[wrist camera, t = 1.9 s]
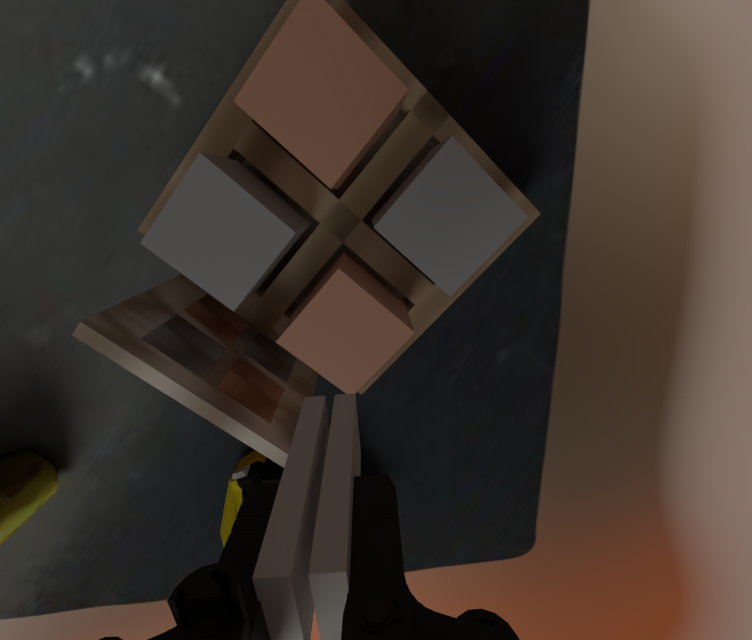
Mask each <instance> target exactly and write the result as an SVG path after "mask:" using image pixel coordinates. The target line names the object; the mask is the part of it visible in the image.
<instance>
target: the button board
mask: <svg viewBox="0 0 752 640" xmlns="http://www.w3.org/2000/svg"><path fill="white" fill-rule="evenodd" d="M325 1H326V2H327V3H328V4H329V5H330V6H331V7H332V8H333V9H334V11H335V12H336V13H337V14H338V15H339V16H340V17H341V18H342V19H343V20H344V21H345V22H346V23H347V24H348V25H349V27H350V28H351V29H352V30H353V31H354V32H355V33H356V34H357V35H358V36H359V37H360V38H361V39H362V40H363V41H364V43H365V44H366V45H367V46H368V47H369V48H370V49H371V50H372V51H373V52H374V53H375V54H376V55H377V56H378V57H379V59H380V60H381V61H382V62H383V63H384V64H385V65H386V66H387V67H388V68H389V69H390V70H391V71H392V72H393V73H394V75H395V76H396V77H397V78H398V79H399V80H400V81H401V82H402V83H403V84H404V85H405V86H406V87H407V88H408V89H409V90H408V92H407V95H406V97H405V99H404V102H403V104H402V106H401V108H400V111H399V113H398V115H397V116H396V117H395V118H394V120H393V121H392V122H391V123H390V125H389V126H388V127H387V128H386V130H385V131H384V132H383V133H382V135H381V136H380V137H379V138H378V140H377V141H376V142H375V144H374V145H373V146H372V147H371V149H370V150H369V151H368V152H367V154H366V155H365V156H364V157H363V159H362V160H361V161H360V162H359V164H358V165H357V166H356V167H355V169H354V170H353V171H352V172H351V174H350V175H349V176H348V177H347V179H346V180H345V181H344V182H343V184H342V185H341V186H340V188H339V189H330V188H329V187H328V186H327V185H326V184H325V183H323V182H322V181H321V180H320V179H319V178H318V177H317V176H316V175H315V174H313V173H312V172H311V171H310V170H309V169H308V168H307V167H306V166H305V165H304V164H302V163H301V162H300V161H299V160H298V159H297V158H296V157H295V156H294V155H292V154H291V153H290V152H289V151H288V150H287V149H286V148H285V147H284V146H282V145H281V144H280V143H279V142H278V141H277V140H276V139H275V138H274V137H273V136H271V135H270V134H269V133H268V132H267V131H266V130H265V129H264V128H263V127H261V126H260V125H259V124H258V123H257V122H256V121H255V120H254V119H253V118H251V117H250V116H249V115H248V114H247V113H246V112H245V111H244V110H243V109H241V108H240V107H239V106H238V105H237V104H236V103H235V102H234V99H235V98H236V96H237V95H238V93H239V92H240V90H241V89H242V87H243V86H244V84H245V83H246V81H247V80H248V78H249V77H250V75H251V73H252V72H253V70H254V69H255V67H256V66H257V64H258V63H259V61H260V60H261V58H262V57H263V55H264V54H265V52H266V51H267V49H268V48H269V46H270V45H271V43H272V41H273V40H274V38H275V37H276V35H277V34H278V32H279V31H280V29H281V28H282V26H283V25H284V23H285V22H286V20H287V19H288V17H289V16H290V14H291V13H292V11H293V9H294V8H295V6H296V5H297V3H298V2H299V0H286V2H285V3H284V5H283V6H282V8H281V9H280V11H279V13H278V14H277V16H276V17H275V19H274V20H273V22H272V23H271V25H270V26H269V28H268V30H267V31H266V33H265V34H264V36H263V37H262V39H261V40H260V42H259V43H258V45H257V47H256V48H255V50H254V51H253V53H252V54H251V56H250V57H249V59H248V60H247V62H246V64H245V65H244V67H243V68H242V70H241V71H240V73H239V74H238V76H237V77H236V79H235V81H234V82H233V84H232V85H231V87H230V88H229V90H228V91H227V93H226V94H225V96H224V98H223V99H222V101H221V102H220V104H219V105H218V107H217V108H216V110H215V111H214V113H213V115H212V116H211V118H210V119H209V121H208V122H207V124H206V125H205V127H204V128H203V130H202V132H201V133H200V135H199V136H198V138H197V139H196V141H195V142H194V144H193V145H192V147H191V149H190V150H189V152H188V153H187V155H186V156H185V158H184V159H183V161H182V162H181V164H180V166H179V167H178V169H177V170H176V172H175V173H174V175H173V176H172V178H171V179H170V181H169V183H168V184H167V186H166V187H165V189H164V190H163V192H162V193H161V195H160V197H159V198H158V200H157V201H156V203H155V204H154V206H153V207H152V209H151V210H150V212H149V214H148V215H147V217H146V218H145V220H144V221H143V223H142V224H141V226H140V227H139V229H138V230H139V231H140V232H142V233H143V234H144V235H146V233H147V232H148V230H149V229H150V227H151V226H152V224H153V223H154V221H155V220H156V218H157V217H158V215H159V214H160V212H161V211H162V209H163V208H164V206H165V204H166V203H167V201H168V200H169V198H170V197H171V195H172V194H173V192H174V191H175V189H176V188H177V186H178V185H179V183H180V182H181V180H182V179H183V177H184V176H185V174H186V172H187V171H188V169H189V168H190V166H191V165H192V163H193V162H194V160H195V159H196V157H197V156H198V154H199V153H205V154H210V155H214V156H219V157H223V158H228V159H233V160H237V161H240V162H241V163H242V164H243V165H245V166H246V167H247V168H248V169H249V170H250V171H252V172H253V173H254V174H255V175H256V176H257V177H259V178H260V179H261V180H262V181H263V182H264V183H266V184H267V185H268V186H269V187H270V188H271V189H273V190H274V191H275V192H276V193H277V194H278V195H280V196H281V197H282V198H283V199H284V200H285V201H287V202H288V203H289V204H290V205H291V206H292V207H294V208H295V209H296V210H297V211H298V212H299V213H301V214H302V215H303V216H304V217H305V218H306V219H308V220H309V221H310V222H311V224H310V225H309V226H308V228H307V229H306V230H305V231H304V233H303V234H302V235H301V237H300V238H299V239H298V240H297V242H296V243H295V244H294V245H293V247H292V248H291V249H290V250H289V252H288V253H287V254H286V255H285V257H284V258H283V259H282V260H281V262H280V263H279V264H278V265H277V267H276V268H275V269H274V270H273V272H272V273H271V274H270V275H269V277H268V278H267V279H266V281H265V282H264V283H263V284H262V285H261V286H260V287H259V288H258V289H257V290H256V291H255V292H254V293H253V294H252V295H251V296H250V297H249V298H248V299H247V300H245V301H244V302H243V303H242V304H241V305H240V306H239V307H238V308H237V309H236V310H235V311H232V310H231V309H230V308H228V307H227V306H225V305H224V304H223V303H221V302H220V301H219V300H217V299H216V298H214V297H213V296H212V295H210V294H209V293H208V292H206V291H205V290H203V289H202V288H201V287H199V286H198V285H197V284H195V283H194V282H193V281H191V280H190V279H188V278H187V277H186V276H184V275H183V274H181V275H179V276H177V277H175V278H173V279H170V280H168V281H166V282H164V283H162V284H160V285H158V286H156V287H153V288H151V289H149V290H147V291H145V292H143V293H141V294H138V295H136V296H134V297H132V298H130V299H128V300H126V301H124V302H121V303H119V304H117V305H115V306H113V307H111V308H109V309H106V310H104V311H102V312H100V313H98V314H96V315H94V316H92V317H89V318H87V319H85V320H83V321H81V322H80V323H79V325H78V326H77V328H76V329H75V331H74V332H73V334H72V336H74V337H76V338H77V339H79V340H80V341H82V342H84V343H85V344H87V345H88V346H90V347H92V348H93V349H95V350H96V351H98V352H100V353H101V354H103V355H104V356H106V357H108V358H109V359H111V360H112V361H114V362H116V363H117V364H119V365H120V366H122V367H124V368H125V369H127V370H128V371H130V372H132V373H133V374H135V375H136V376H138V377H140V378H141V379H143V380H144V381H146V382H147V383H149V384H151V385H152V386H154V387H155V388H157V389H159V390H160V391H162V392H163V393H165V394H167V395H168V396H170V397H171V398H173V399H175V400H176V401H178V402H179V403H181V404H183V405H184V406H186V407H187V408H189V409H191V410H192V411H194V412H195V413H197V414H199V415H200V416H202V417H203V418H205V419H207V420H208V421H210V422H211V423H213V424H215V425H216V426H218V427H219V428H221V429H223V430H224V431H226V432H227V433H229V434H231V435H232V436H234V437H235V438H237V439H239V440H240V441H242V442H243V443H245V444H247V445H248V446H250V447H251V448H253V449H255V450H256V451H258V452H259V453H261V454H263V455H264V456H266V457H267V458H269V459H271V460H272V461H274V462H275V463H277V464H279V465H280V466H282V467H283V468H284V467H285V464H286V460H287V457H288V453H289V450H290V447H291V443H292V440H293V436H294V433H295V429H296V426H297V422H298V419H299V415H300V412H301V409H302V405H303V402H304V398H305V397H313V395H314V391H315V387H316V383H317V379H318V375H319V373H317V372H316V371H315V370H313V369H312V368H311V367H309V366H308V365H306V364H305V363H304V362H302V361H301V360H300V359H298V358H297V357H295V356H294V355H293V354H291V353H290V352H289V351H287V350H286V349H284V348H283V347H282V346H280V345H279V344H278V343H276V341H277V339H278V337H279V336H280V334H281V332H282V330H283V329H284V327H285V325H286V324H287V322H288V320H289V318H290V317H291V315H292V313H293V311H294V310H295V309H296V308H297V306H298V305H299V304H300V303H301V302H302V300H303V299H304V298H305V297H306V296H307V295H308V293H309V292H310V291H311V290H312V289H313V287H314V286H315V285H316V284H317V283H318V282H319V280H320V279H321V278H322V277H323V276H324V274H325V273H326V272H327V271H328V270H329V269H330V267H331V266H332V265H333V264H334V263H335V261H336V260H337V259H338V258H339V257H340V256H341V254H342V253H343V252H344V251H345V252H346V253H347V254H348V255H350V256H351V257H352V258H353V259H354V260H355V261H357V262H358V263H359V264H360V265H361V266H362V267H364V268H365V269H366V270H367V271H368V272H369V273H371V274H372V275H373V276H374V277H375V278H376V279H378V280H379V281H380V282H381V283H382V284H383V285H385V286H386V287H387V288H388V289H389V290H390V291H392V292H393V293H394V294H395V295H396V296H397V297H399V298H400V299H401V300H402V301H403V302H404V303H405V305H406V308H407V311H408V314H409V317H410V320H411V322H412V325H413V328H414V331H415V333H414V334H413V335H412V336H411V337H410V338H409V339H408V340H407V341H406V342H405V343H404V344H403V345H402V346H401V347H400V348H399V349H398V350H397V351H396V352H395V353H394V354H393V355H392V357H391V358H390V359H389V360H388V361H387V362H386V363H385V364H384V365H383V366H382V367H381V368H380V369H379V370H378V371H377V372H376V373H375V374H374V375H373V376H372V377H371V378H370V379H369V380H368V381H367V382H366V383H365V384H364V385H363V386H362V387H361V388H360V389H359V390H358V391H357V392H358V393H360V394H361V395H362V394H363V393H364V392H365V391H366V390H367V389H368V388H369V387H370V386H371V385H372V384H373V383H374V382H375V381H376V380H377V378H378V377H379V376H380V375H381V374H382V373H383V372H384V371H385V370H386V369H387V368H388V367H389V366H390V365H391V364H392V363H393V362H394V361H395V360H396V359H397V358H398V357H399V356H400V355H401V354H402V353H403V352H404V351H405V350H406V349H407V348H408V347H409V346H410V345H411V344H412V343H413V342H414V341H415V340H416V339H417V338H418V337H419V336H420V335H421V334H422V333H423V332H424V331H425V330H426V329H427V328H428V327H429V326H430V325H431V324H432V323H433V322H434V321H435V320H436V319H437V318H438V317H439V316H440V315H441V314H442V313H443V312H444V311H445V310H446V309H447V308H448V307H449V306H450V305H451V304H452V303H453V302H454V301H455V300H456V299H457V298H458V297H459V296H460V295H461V294H462V293H463V292H464V291H465V290H466V289H467V288H468V287H469V286H470V285H471V284H472V283H473V282H474V280H475V279H476V278H477V277H478V276H479V275H480V274H481V273H482V272H483V271H484V270H485V269H486V268H487V267H488V266H489V265H490V264H491V263H492V262H493V261H494V260H495V259H496V258H497V257H498V256H499V255H500V254H501V253H502V252H503V251H504V250H505V249H506V248H507V247H508V246H509V245H510V244H511V243H512V242H513V241H514V240H515V239H516V238H517V237H518V236H519V235H520V234H521V233H522V232H523V231H524V230H525V229H526V228H527V227H528V226H529V225H530V224H531V223H532V222H533V221H534V220H535V219H536V218H537V217H538V216H539V215H540V214H541V213H540V212H539V211H538V210H537V209H536V208H535V207H534V206H533V205H532V204H531V202H530V201H529V200H528V199H527V198H526V197H525V196H524V195H523V194H522V193H521V192H520V191H519V189H518V188H517V187H516V186H515V185H514V184H513V183H512V182H511V181H510V180H509V179H508V178H507V176H506V175H505V174H504V173H503V172H502V171H501V170H500V169H499V168H498V167H497V166H496V164H495V163H494V162H493V161H492V160H491V159H490V158H489V157H488V156H487V155H486V154H485V153H484V151H483V150H482V149H481V148H480V147H479V146H478V145H477V144H476V143H475V142H474V141H473V140H472V138H471V137H470V136H469V135H468V134H467V133H466V132H465V131H464V130H463V129H462V128H461V126H460V125H459V124H458V123H457V122H456V121H455V120H454V119H453V118H452V117H451V116H450V115H449V113H448V112H447V111H446V110H445V109H444V108H443V107H442V106H441V105H440V104H439V103H438V102H437V100H436V99H435V98H434V97H433V96H432V95H431V94H430V93H429V92H428V91H427V90H426V88H425V87H424V86H423V85H422V84H421V83H420V82H419V81H418V80H417V79H416V78H415V77H414V75H413V74H412V73H411V72H410V71H409V70H408V69H407V68H406V67H405V66H404V65H403V64H402V62H401V61H400V60H399V59H398V58H397V57H396V56H395V55H394V54H393V53H392V52H391V50H390V49H389V48H388V47H387V46H386V45H385V44H384V43H383V42H382V41H381V40H380V39H379V37H378V36H377V35H376V34H375V33H374V32H373V31H372V30H371V29H370V28H369V27H368V26H367V24H366V23H365V22H364V21H363V20H362V19H361V18H360V17H359V16H358V15H357V14H356V12H355V11H354V10H353V9H352V8H351V7H350V6H349V5H348V4H347V3H346V2H345V1H344V0H325ZM451 136H453V137H454V139H455V140H456V141H457V142H458V143H459V144H460V145H461V146H462V147H463V148H464V149H465V150H466V151H467V152H468V153H469V155H470V156H471V157H472V158H473V159H474V160H475V161H476V162H477V163H478V164H479V165H480V166H481V167H482V168H483V170H484V171H485V172H486V173H487V174H488V175H489V176H490V177H491V178H492V179H493V180H494V181H495V182H496V183H497V184H498V186H499V187H500V188H501V189H502V190H503V191H504V192H505V193H506V194H507V195H508V196H509V197H510V198H511V199H512V200H513V202H514V203H515V204H516V205H517V206H518V207H519V208H520V209H521V210H522V211H523V212H524V213H525V214H526V215H527V216H528V218H527V219H526V220H525V221H524V222H523V223H522V224H521V225H520V226H519V227H518V228H517V229H516V230H515V231H514V232H513V233H512V234H511V235H510V236H509V237H508V238H507V239H506V240H505V241H504V242H503V243H502V245H501V246H500V247H499V248H498V249H497V250H496V251H495V252H494V253H493V254H492V255H491V256H490V257H489V258H488V259H487V260H486V261H485V262H484V263H483V264H482V265H481V266H480V267H479V268H478V269H477V270H476V271H475V272H474V273H473V274H472V275H471V276H470V277H469V278H468V279H467V280H466V281H465V282H464V283H463V284H462V285H461V286H460V287H459V288H458V289H457V290H456V291H455V292H454V293H453V294H452V295H451V296H449V295H448V294H446V293H445V292H444V291H443V290H442V289H441V288H440V287H439V286H438V285H436V284H435V283H434V282H433V281H432V280H431V279H430V278H429V277H428V276H426V275H425V274H424V273H423V272H422V271H421V270H420V269H419V268H418V267H417V266H415V265H414V264H413V263H412V262H411V261H410V260H409V259H408V258H407V257H405V256H404V255H403V254H402V253H401V252H400V251H399V250H398V249H397V248H395V247H394V246H393V245H392V244H391V243H390V242H389V241H388V240H387V239H386V238H384V237H383V236H382V235H381V234H380V233H379V232H378V231H377V230H376V229H374V228H373V223H372V218H373V217H374V215H375V214H376V213H377V212H378V211H379V209H380V208H381V207H382V206H383V205H384V204H385V202H386V201H387V200H388V199H389V198H390V196H391V195H392V194H393V193H394V192H395V191H396V189H397V188H398V187H399V186H400V185H401V183H402V182H403V181H404V180H405V179H406V178H407V176H408V175H409V174H410V173H411V172H412V170H413V169H414V168H415V167H416V166H417V165H418V163H419V162H420V161H421V160H422V159H423V157H424V156H425V155H426V154H427V153H428V152H429V150H430V149H431V148H433V147H434V146H436V145H437V144H439V143H441V142H442V141H444V140H446V139H447V138H449V137H451Z"/></svg>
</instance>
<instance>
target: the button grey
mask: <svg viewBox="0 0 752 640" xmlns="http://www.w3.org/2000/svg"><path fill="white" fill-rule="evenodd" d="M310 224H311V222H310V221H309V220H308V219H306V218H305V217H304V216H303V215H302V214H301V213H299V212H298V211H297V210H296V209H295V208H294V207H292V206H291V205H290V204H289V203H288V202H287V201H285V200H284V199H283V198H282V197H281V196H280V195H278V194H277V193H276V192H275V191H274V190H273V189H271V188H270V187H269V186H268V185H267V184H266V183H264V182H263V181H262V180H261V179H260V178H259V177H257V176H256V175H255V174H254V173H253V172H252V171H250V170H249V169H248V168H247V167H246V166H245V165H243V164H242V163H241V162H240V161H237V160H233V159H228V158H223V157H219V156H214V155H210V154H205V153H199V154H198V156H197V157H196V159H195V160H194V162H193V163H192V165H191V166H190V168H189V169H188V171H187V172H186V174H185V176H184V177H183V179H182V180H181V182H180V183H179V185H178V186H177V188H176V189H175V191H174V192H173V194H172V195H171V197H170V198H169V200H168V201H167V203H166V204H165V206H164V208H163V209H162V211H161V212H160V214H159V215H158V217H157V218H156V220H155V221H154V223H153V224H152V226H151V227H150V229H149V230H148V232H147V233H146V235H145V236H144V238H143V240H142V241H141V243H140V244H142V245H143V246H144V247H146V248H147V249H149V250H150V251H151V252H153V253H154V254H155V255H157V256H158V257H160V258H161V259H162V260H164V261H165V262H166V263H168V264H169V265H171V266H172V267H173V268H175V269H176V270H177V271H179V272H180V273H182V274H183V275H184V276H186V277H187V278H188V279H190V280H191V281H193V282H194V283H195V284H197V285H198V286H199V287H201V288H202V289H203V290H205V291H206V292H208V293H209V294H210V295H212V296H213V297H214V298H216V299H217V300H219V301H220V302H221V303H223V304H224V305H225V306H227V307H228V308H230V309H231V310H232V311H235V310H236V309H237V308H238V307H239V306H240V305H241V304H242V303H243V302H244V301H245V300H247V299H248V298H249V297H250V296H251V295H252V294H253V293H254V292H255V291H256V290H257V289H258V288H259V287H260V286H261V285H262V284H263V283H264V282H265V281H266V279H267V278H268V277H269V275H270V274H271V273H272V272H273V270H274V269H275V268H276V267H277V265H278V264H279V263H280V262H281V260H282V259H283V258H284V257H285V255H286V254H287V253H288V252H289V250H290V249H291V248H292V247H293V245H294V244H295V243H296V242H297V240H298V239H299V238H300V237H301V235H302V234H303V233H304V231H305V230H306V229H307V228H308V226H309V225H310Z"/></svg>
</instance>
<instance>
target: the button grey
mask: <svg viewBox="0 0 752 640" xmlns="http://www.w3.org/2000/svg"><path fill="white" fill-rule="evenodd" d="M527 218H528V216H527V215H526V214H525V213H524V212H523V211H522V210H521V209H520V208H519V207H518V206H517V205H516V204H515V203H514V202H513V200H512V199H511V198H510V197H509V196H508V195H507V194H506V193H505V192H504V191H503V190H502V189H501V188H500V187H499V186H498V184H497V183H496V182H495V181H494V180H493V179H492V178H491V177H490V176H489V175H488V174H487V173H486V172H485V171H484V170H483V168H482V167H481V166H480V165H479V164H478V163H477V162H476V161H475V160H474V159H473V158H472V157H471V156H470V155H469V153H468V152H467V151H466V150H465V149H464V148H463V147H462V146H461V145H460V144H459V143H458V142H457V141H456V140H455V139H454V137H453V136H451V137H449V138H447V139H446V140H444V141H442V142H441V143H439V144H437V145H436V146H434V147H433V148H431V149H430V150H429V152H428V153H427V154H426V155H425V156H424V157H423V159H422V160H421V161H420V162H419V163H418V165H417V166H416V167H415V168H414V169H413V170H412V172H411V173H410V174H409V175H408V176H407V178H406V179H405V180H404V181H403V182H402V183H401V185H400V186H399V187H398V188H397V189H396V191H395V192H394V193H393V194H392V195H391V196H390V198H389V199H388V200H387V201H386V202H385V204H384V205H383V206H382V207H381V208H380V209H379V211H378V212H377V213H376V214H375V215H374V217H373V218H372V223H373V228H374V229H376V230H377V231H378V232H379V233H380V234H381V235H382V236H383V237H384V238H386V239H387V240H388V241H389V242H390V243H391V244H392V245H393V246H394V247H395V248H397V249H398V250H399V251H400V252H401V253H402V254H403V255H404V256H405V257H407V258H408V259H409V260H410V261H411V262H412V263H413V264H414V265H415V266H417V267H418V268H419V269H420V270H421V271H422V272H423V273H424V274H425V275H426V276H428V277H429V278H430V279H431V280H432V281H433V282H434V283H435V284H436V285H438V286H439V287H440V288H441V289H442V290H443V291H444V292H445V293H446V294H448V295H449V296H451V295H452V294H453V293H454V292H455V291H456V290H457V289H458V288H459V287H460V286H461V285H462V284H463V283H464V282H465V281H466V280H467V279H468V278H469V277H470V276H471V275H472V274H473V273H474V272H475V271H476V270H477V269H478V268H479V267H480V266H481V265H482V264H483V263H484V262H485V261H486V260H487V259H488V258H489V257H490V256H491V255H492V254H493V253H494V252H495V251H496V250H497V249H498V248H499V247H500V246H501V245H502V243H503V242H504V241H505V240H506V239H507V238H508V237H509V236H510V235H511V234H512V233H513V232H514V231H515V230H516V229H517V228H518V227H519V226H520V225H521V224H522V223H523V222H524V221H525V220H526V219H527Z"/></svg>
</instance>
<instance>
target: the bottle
mask: <svg viewBox="0 0 752 640" xmlns="http://www.w3.org/2000/svg"><path fill="white" fill-rule="evenodd" d="M57 487H58V481H57V475H56V471H55V468H54V466H53V465H52V464H51V463H49V462H48V461H46V460H45V459H43V458H42V457H41V456H40V455H38V454H36V453H34V452H32V451H30V450H18V451H13V452H10V453H7V454H5V455H2V456H0V545H1V544H2V543H3V542H4V541H5V540H6V539H7V538H9V537H10V536H11V535H12V534H13V533H14V532H15V531H16V530H17V529H18V528H19V527H20V526H21V525H22V524H23V523H24V522H25V521H26V520H27V519H29V518H30V517H31V516H32V515H33V514H34V513H35V512H36V511H37V510H38V509H39V507H40V506H41V505H42V504H43V503H44V502H45V501H46V500H47V499H48V498H49V497H50V496H51V495H52V494H54V493H55V492H56V491H57Z"/></svg>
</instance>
